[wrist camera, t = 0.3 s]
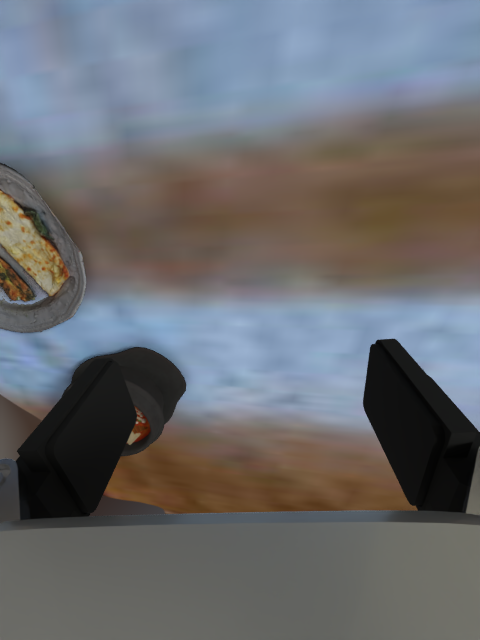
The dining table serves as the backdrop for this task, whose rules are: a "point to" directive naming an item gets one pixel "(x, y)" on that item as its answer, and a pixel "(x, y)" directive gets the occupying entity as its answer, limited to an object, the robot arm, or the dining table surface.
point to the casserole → (145, 392)
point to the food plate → (35, 259)
